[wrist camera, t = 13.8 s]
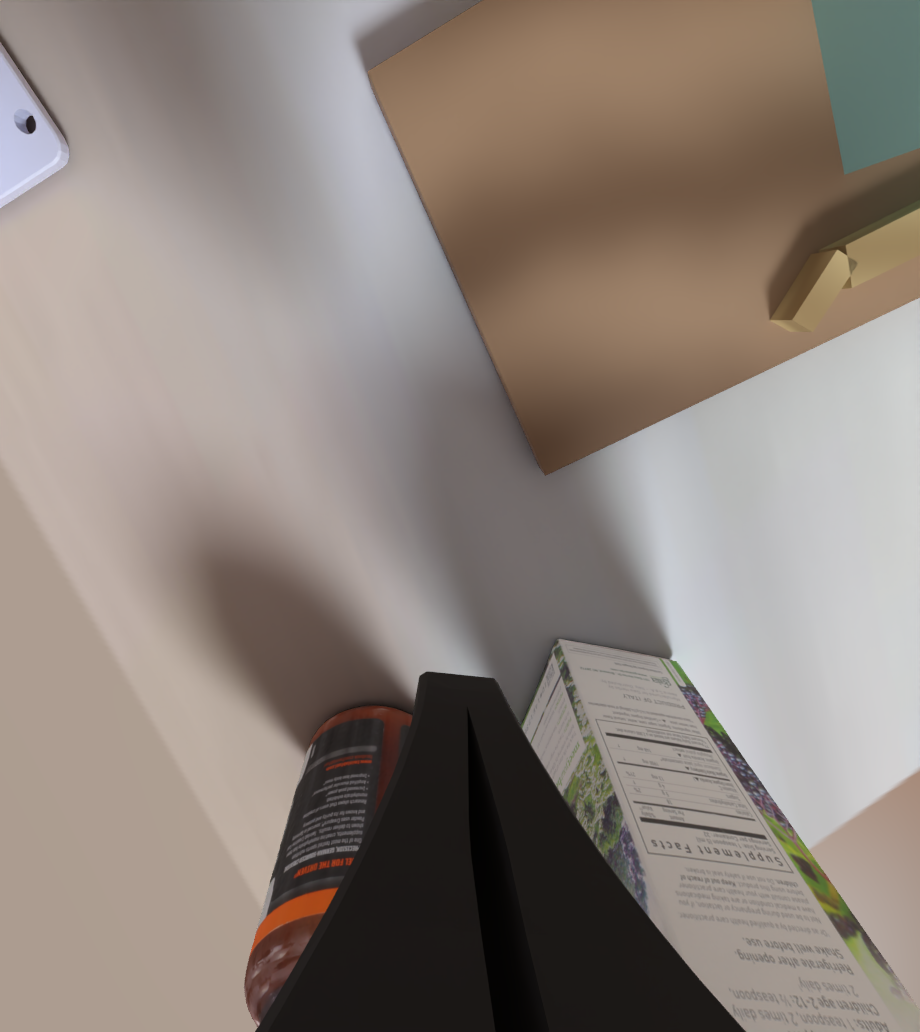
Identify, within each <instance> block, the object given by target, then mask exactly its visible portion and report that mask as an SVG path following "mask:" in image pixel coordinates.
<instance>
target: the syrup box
mask: <svg viewBox="0 0 920 1032" xmlns="http://www.w3.org/2000/svg"><path fill="white" fill-rule="evenodd" d="M521 728H522V729H523V731H524V733H525V735H526V737H527V738H528V740H529V742H530V744H531V745H532V747H533V749H534V750H535V752H536V754H537V756H538V757H539V759H540V761H541V762H542V764H543V765H544V767H545V769H546V770H547V772H548V774H549V775H550V777H551V778H552V780H553V782H554V783H555V785H556V787H557V788H558V790H559V791H560V793H561V795H562V796H563V798H564V799H565V801H566V802H567V804H568V805H569V807H570V808H571V810H572V812H573V813H574V815H575V816H576V818H577V819H578V821H579V822H580V823H581V825H582V826H583V828H584V829H585V831H586V832H587V834H588V835H589V837H590V838H591V839H592V841H593V842H594V844H595V845H596V847H597V848H598V850H599V851H600V852H601V854H602V855H603V857H604V858H605V859H606V861H607V862H608V864H609V865H610V866H611V868H612V869H613V871H614V872H615V873H616V875H617V876H618V877H619V879H620V880H621V881H622V883H623V884H624V885H625V887H626V888H627V889H628V891H629V892H630V893H631V895H632V896H633V897H634V898H635V900H636V901H637V902H638V904H639V905H640V906H641V907H642V909H643V910H644V911H645V913H646V914H647V915H648V917H649V918H650V919H651V920H652V922H653V923H654V924H655V926H656V927H657V928H658V929H659V930H660V932H661V933H662V934H663V935H664V937H665V938H666V939H667V940H668V941H669V943H670V944H671V945H672V946H673V948H674V949H675V950H676V951H677V952H678V954H679V955H680V956H681V957H682V959H683V960H684V961H685V962H686V964H687V965H688V966H689V967H690V968H691V970H692V971H693V972H694V973H695V974H696V976H697V977H698V978H699V979H700V980H701V981H702V983H703V984H704V985H705V986H706V987H707V988H708V989H709V990H710V992H711V993H712V994H713V995H714V996H715V997H716V998H717V999H718V1001H719V1002H720V1003H721V1004H722V1005H723V1006H724V1007H725V1008H726V1010H727V1011H728V1012H729V1013H730V1014H731V1015H732V1016H733V1018H734V1019H735V1020H736V1021H737V1022H738V1023H739V1024H740V1025H741V1027H742V1028H743V1029H744V1030H745V1031H746V1032H920V1009H919V1007H918V1006H917V1005H916V1003H915V1002H914V1000H913V999H912V998H911V996H910V995H909V993H908V992H907V990H906V989H905V988H904V986H903V985H902V983H901V982H900V980H899V979H898V977H897V976H896V975H895V973H894V972H893V970H892V969H891V967H890V966H889V965H888V963H887V962H886V960H885V959H884V958H883V956H882V955H881V953H880V952H879V951H878V949H877V948H876V946H875V945H874V944H873V942H872V941H871V939H870V938H869V937H868V935H867V934H866V932H865V931H864V929H863V928H862V926H861V925H860V923H859V922H858V921H857V919H856V918H855V916H854V915H853V914H852V912H851V911H850V909H849V908H848V906H847V905H846V903H845V902H844V900H843V899H842V897H841V896H840V894H839V893H838V892H837V890H836V889H835V887H834V886H833V884H832V883H831V882H830V880H829V879H828V877H827V876H826V874H825V873H824V872H823V870H822V869H821V867H820V866H819V864H818V863H817V862H816V860H815V859H814V857H813V856H812V854H811V853H810V852H809V850H808V849H807V847H806V846H805V844H804V843H803V842H802V840H801V839H800V837H799V836H798V834H797V833H796V831H795V830H794V829H793V827H792V826H791V824H790V823H789V821H788V820H787V819H786V817H785V816H784V814H783V813H782V811H781V810H780V809H779V807H778V806H777V804H776V803H775V802H774V800H773V799H772V798H771V796H770V795H769V793H768V792H767V790H766V789H765V787H764V786H763V784H762V783H761V781H760V780H759V779H758V777H757V776H756V774H755V773H754V772H753V770H752V769H751V768H750V766H749V765H748V764H747V762H746V761H745V759H744V758H743V756H742V755H741V753H740V752H739V750H738V749H737V747H736V746H735V745H734V743H733V742H732V740H731V739H730V737H729V736H728V734H727V733H726V731H725V730H724V728H723V727H722V725H721V724H720V723H719V721H718V720H717V719H716V717H715V716H714V714H713V713H712V711H711V710H710V708H709V707H708V705H707V704H706V703H705V701H704V700H703V698H702V697H701V696H700V694H699V693H698V691H697V690H696V688H695V687H694V685H693V684H692V683H691V681H690V680H689V678H688V677H687V675H686V674H685V672H684V671H683V669H682V668H681V666H680V665H679V664H678V663H677V662H676V661H672V660H670V659H665V658H660V657H655V656H650V655H645V654H640V653H634V652H629V651H624V650H619V649H613V648H608V647H603V646H597V645H591V644H586V643H580V642H574V641H569V640H564V639H557V640H556V642H555V644H554V646H553V649H552V651H551V654H550V656H549V659H548V662H547V664H546V667H545V669H544V672H543V674H542V677H541V679H540V681H539V684H538V686H537V689H536V691H535V694H534V696H533V699H532V701H531V704H530V706H529V708H528V711H527V713H526V716H525V718H524V720H523V722H522V725H521Z"/></svg>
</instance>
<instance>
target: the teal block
mask: <svg viewBox="0 0 920 1032" xmlns="http://www.w3.org/2000/svg"><path fill="white" fill-rule="evenodd" d="M811 2H812V7H813V12H814V18H815V23H816V28H817V33H818V39H819V44H820V49H821V54H822V59H823V65H824V70H825V75H826V80H827V86H828V91H829V96H830V101H831V107H832V112H833V117H834V122H835V127H836V133H837V138H838V143H839V148H840V154H841V159H842V164H843V169H844V175H845V174H848V173H851V172H854V171H856V170H859V169H862V168H865V167H868V166H870V165H873V164H876V163H879V162H882V161H885V160H887V159H890V158H893V157H896V156H899V155H901V154H904V153H907V152H910V151H913V150H915V149H918V148H920V0H811Z"/></svg>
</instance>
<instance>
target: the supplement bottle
mask: <svg viewBox="0 0 920 1032" xmlns="http://www.w3.org/2000/svg"><path fill="white" fill-rule="evenodd" d="M412 716H413V715H411V714H409V713H406V712H404V711H401V710H398V709H395V708H390V707H385V706H363V707H357V708H353V709H349V710H346V711H344V712H341V713H338V714H337V715H335V716H334V717H332V718H330V719H329V720H327V721H326V722H325V723H324V724H323V725H322V726H321V727H320V728H319V729H318V730H317V732H316V733H315V735H314V736H313V738H312V740H311V742H310V745H309V748H308V751H307V753H306V756H305V759H304V763H303V766H302V770H301V774H300V777H299V781H298V784H297V788H296V791H295V795H294V798H293V802H292V806H291V809H290V813H289V816H288V820H287V824H286V827H285V831H284V835H283V838H282V842H281V845H280V850H279V853H278V856H277V860H276V863H275V867H274V870H273V873H272V877H271V880H270V885H269V888H268V892H267V895H266V899H265V903H264V906H263V910H262V913H261V917H260V921H259V924H258V928H257V931H256V935H255V939H254V943H253V946H252V950H251V953H250V957H249V961H248V966H247V970H246V977H245V986H244V989H245V997H246V1003H247V1007H248V1010H249V1012H250V1014H251V1016H252V1019H253V1020H254V1021H255V1023H256V1025H257V1027H258V1026H259V1025H260V1023H261V1022H262V1020H263V1018H264V1017H265V1015H266V1013H267V1012H268V1010H269V1008H270V1007H271V1005H272V1004H273V1002H274V1000H275V999H276V997H277V995H278V993H279V992H280V990H281V988H282V987H283V985H284V983H285V982H286V980H287V978H288V977H289V975H290V973H291V972H292V970H293V968H294V966H295V965H296V963H297V961H298V959H299V958H300V956H301V954H302V952H303V950H304V949H305V947H306V945H307V943H308V942H309V940H310V938H311V936H312V935H313V933H314V931H315V929H316V928H317V926H318V924H319V922H320V921H321V919H322V917H323V915H324V913H325V912H326V910H327V908H328V906H329V904H330V903H331V901H332V899H333V897H334V895H335V893H336V891H337V889H338V888H339V886H340V884H341V882H342V880H343V878H344V876H345V874H346V872H347V871H348V869H349V867H350V865H351V863H352V861H353V859H354V857H355V855H356V853H357V851H358V849H359V847H360V845H361V843H362V841H363V839H364V837H365V835H366V833H367V830H368V828H369V826H370V824H371V822H372V820H373V817H374V815H375V813H376V811H377V808H378V806H379V804H380V802H381V800H382V797H383V795H384V793H385V791H386V788H387V786H388V784H389V782H390V779H391V777H392V775H393V772H394V770H395V767H396V764H397V762H398V759H399V756H400V753H401V751H402V748H403V745H404V743H405V740H406V737H407V735H408V732H409V728H410V725H411V722H412Z"/></svg>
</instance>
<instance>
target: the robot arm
mask: <svg viewBox="0 0 920 1032" xmlns="http://www.w3.org/2000/svg"><path fill="white" fill-rule="evenodd" d="M32 115H33V117H34V119H35V121H36V130H35V131H34V132H33V133H32V134H30V133H29V132H28V130H27V127H26V120H27V118H28V117H29V116H32ZM68 159H69V148H68V145H67V143H66V141H65V138H64V137H63V135H62V134H61V132H60V131H59V129H58V128H57V126H56V125H55V123H54V122H53V120H52V119H51V117H50V116H49V114H48V113H47V111H46V110H45V108H44V107H43V105H42V104H41V102H40V101H39V99H38V98H37V96H36V95H35V93H34V92H33V90H32V89H31V87H30V86H29V84H28V83H27V81H26V80H25V78H24V77H23V75H22V74H21V72H20V71H19V69H18V68H17V66H16V65H15V63H14V62H13V60H12V59H11V57H10V56H9V54H8V53H7V51H6V50H5V48H4V47H3V45H2V44H1V42H0V208H1V207H3V206H4V205H6V204H7V203H9V202H11V201H12V200H14V199H15V198H17V197H18V196H20V195H21V194H23V193H24V192H26V191H28V190H29V189H31V188H32V187H34V186H35V185H37V184H38V183H40V182H41V181H43V180H45V179H46V178H48V177H49V176H51V175H52V174H54V173H55V172H57V171H58V170H60V169H62V168H63V167H64V166H65V165H66V164H67V163H68ZM255 1032H746V1031H745V1030H744V1029H743V1028H742V1027H741V1025H740V1024H739V1023H738V1022H737V1021H736V1020H735V1019H734V1018H733V1016H732V1015H731V1014H730V1013H729V1012H728V1011H727V1010H726V1008H725V1007H724V1006H723V1005H722V1004H721V1003H720V1002H719V1001H718V999H717V998H716V997H715V996H714V995H713V994H712V993H711V992H710V990H709V989H708V988H707V987H706V986H705V985H704V984H703V983H702V981H701V980H700V979H699V978H698V977H697V976H696V974H695V973H694V972H693V971H692V970H691V968H690V967H689V966H688V965H687V964H686V962H685V961H684V960H683V959H682V957H681V956H680V955H679V954H678V952H677V951H676V950H675V949H674V948H673V946H672V945H671V944H670V943H669V941H668V940H667V939H666V938H665V937H664V935H663V934H662V933H661V932H660V930H659V929H658V928H657V927H656V926H655V924H654V923H653V922H652V920H651V919H650V918H649V917H648V915H647V914H646V913H645V911H644V910H643V909H642V907H641V906H640V905H639V904H638V902H637V901H636V900H635V898H634V897H633V896H632V895H631V893H630V892H629V891H628V889H627V888H626V887H625V885H624V884H623V883H622V881H621V880H620V879H619V877H618V876H617V875H616V873H615V872H614V871H613V869H612V868H611V866H610V865H609V864H608V862H607V861H606V859H605V858H604V857H603V855H602V854H601V852H600V851H599V850H598V848H597V847H596V845H595V844H594V842H593V841H592V839H591V838H590V837H589V835H588V834H587V832H586V831H585V829H584V828H583V826H582V825H581V823H580V822H579V821H578V819H577V818H576V816H575V815H574V813H573V812H572V810H571V808H570V807H569V805H568V804H567V802H566V801H565V799H564V798H563V796H562V795H561V793H560V791H559V790H558V788H557V787H556V785H555V783H554V782H553V780H552V778H551V777H550V775H549V774H548V772H547V770H546V769H545V767H544V765H543V764H542V762H541V761H540V759H539V757H538V756H537V754H536V752H535V750H534V749H533V747H532V745H531V744H530V742H529V740H528V738H527V737H526V735H525V733H524V731H523V729H522V728H521V726H520V724H519V722H518V720H517V719H516V717H515V715H514V713H513V711H512V709H511V708H510V706H509V704H508V702H507V700H506V698H505V696H504V694H503V692H502V690H501V688H500V686H499V684H498V683H497V682H496V680H495V679H494V678H485V677H475V676H466V675H456V674H446V673H436V672H425V673H424V674H422V675H421V676H420V677H419V682H418V688H417V693H416V699H415V705H414V710H413V716H412V722H411V725H410V728H409V732H408V735H407V737H406V740H405V743H404V745H403V748H402V751H401V753H400V756H399V759H398V762H397V764H396V767H395V770H394V772H393V775H392V777H391V779H390V782H389V784H388V786H387V788H386V791H385V793H384V795H383V797H382V800H381V802H380V804H379V806H378V808H377V811H376V813H375V815H374V817H373V820H372V822H371V824H370V826H369V828H368V830H367V833H366V835H365V837H364V839H363V841H362V843H361V845H360V847H359V849H358V851H357V853H356V855H355V857H354V859H353V861H352V863H351V865H350V867H349V869H348V871H347V872H346V874H345V876H344V878H343V880H342V882H341V884H340V886H339V888H338V889H337V891H336V893H335V895H334V897H333V899H332V901H331V903H330V904H329V906H328V908H327V910H326V912H325V913H324V915H323V917H322V919H321V921H320V922H319V924H318V926H317V928H316V929H315V931H314V933H313V935H312V936H311V938H310V940H309V942H308V943H307V945H306V947H305V949H304V950H303V952H302V954H301V956H300V958H299V959H298V961H297V963H296V965H295V966H294V968H293V970H292V972H291V973H290V975H289V977H288V978H287V980H286V982H285V983H284V985H283V987H282V988H281V990H280V992H279V993H278V995H277V997H276V999H275V1000H274V1002H273V1004H272V1005H271V1007H270V1008H269V1010H268V1012H267V1013H266V1015H265V1017H264V1018H263V1020H262V1022H261V1023H260V1025H259V1026H258V1028H257V1030H256V1031H255Z"/></svg>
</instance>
